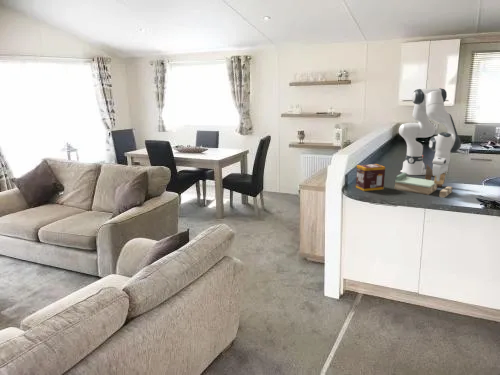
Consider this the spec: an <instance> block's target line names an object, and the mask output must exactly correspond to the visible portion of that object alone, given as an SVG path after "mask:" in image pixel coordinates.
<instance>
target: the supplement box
mask: <svg viewBox="0 0 500 375" xmlns="http://www.w3.org/2000/svg"><path fill="white" fill-rule="evenodd" d="M355 175H356V177H355V179H356V180H355V188H356V189H358V190H361V191H363V192H369V191H381V190H384V188H385V176H386V166H383V165H381V164H378V163H371V164H370V163H369V164H357V165H356V174H355Z"/></svg>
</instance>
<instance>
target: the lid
mask: <svg viewBox="0 0 500 375" xmlns="http://www.w3.org/2000/svg"><path fill="white" fill-rule="evenodd" d="M407 175H408V174H407V173H403V172H400V174H397V175H396V176H395V180H394V183H403V184H409V185H415V186H422V187H428V188H430V187H432V186H434V185H435V184H436V183H434V181H432V180H433V179H431V180H426V179H425V178H417V177H413V176H412V177H409V176H407Z"/></svg>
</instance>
